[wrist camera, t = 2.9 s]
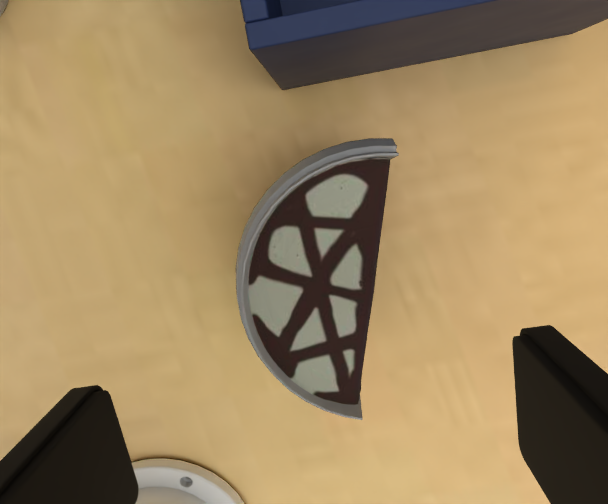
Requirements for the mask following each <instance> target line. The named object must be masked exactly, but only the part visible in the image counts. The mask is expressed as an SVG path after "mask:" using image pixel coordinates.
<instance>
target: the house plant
mask: <svg viewBox="0 0 608 504" xmlns="http://www.w3.org/2000/svg"><path fill="white" fill-rule="evenodd" d="M7 3H8V0H0V15H1V14H2V13H3V12H4V10H5V7H6V5H7Z"/></svg>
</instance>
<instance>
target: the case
mask: <svg viewBox="0 0 608 504" xmlns="http://www.w3.org/2000/svg"><path fill="white" fill-rule="evenodd" d="M240 2H241V8H242V13H243V18H244V21H245V23H246V24H245V29H246V34H247V39H248V44H249V49H250V50H251V51H252V53H253V54H254V55H255V57H256V58H257V59H258V60H259V62H260V63H261V64H262V65H263V67H264V68H265V69H266V70H267V72H268V73H269V74H270V75H271V77H272V78H273V79H274V80H275V82H276V83H277V84H278V85H279V87H280V88H281V89H282V90H286V89H291V88H296V87H301V86H307V85H312V84H317V83H322V82H327V81H332V80H337V79H343V78H348V77H353V76H358V75H363V74H368V73H373V72H379V71H384V70H389V69H394V68H399V67H404V66H409V65H414V64H420V63H425V62H430V61H435V60H440V59H445V58H450V57H456V56H461V55H466V54H471V53H476V52H481V51H486V50H492V49H497V48H502V47H507V46H512V45H517V44H522V43H528V42H533V41H538V40H543V39H548V38H553V37H558V36H563V35H569V34H573V33H575V32H577V31H580V30H582V29H585V28H587V27H589V26H592V25H594V24H596V23H599V22H601V21H604V20H606V19H608V0H240Z"/></svg>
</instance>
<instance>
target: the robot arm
mask: <svg viewBox="0 0 608 504" xmlns="http://www.w3.org/2000/svg"><path fill="white" fill-rule="evenodd" d="M513 358H514V375H515V391H516V407H517V423H518V440H519V446H520V450H521V453H522V456H523V458H524V460H525V462H526V463H527V465H528V467H529V468H530V470H531V472H532V473H533V475H534V477H535V478H536V480H537V482H538V483H539V485H540V487H541V488H542V490H543V492H544V493H545V495H546V497H547V498H548V500H549V502H550V503H551V504H608V374H607V373H606V372H605V371H604V370H602V369H601V368H600V367H599V366H598V365H597V364H595V363H594V362H593V361H592V360H591V359H590V358H588V357H587V356H586V355H585V354H584V353H583V352H581V351H580V350H579V349H578V348H577V347H576V346H575V345H573V344H572V343H571V342H570V341H569V340H568V339H566V338H565V337H564V336H563V335H562V334H561V333H559V332H558V331H557V330H556V329H555V328H554V327H552V326H551V325H547V326H539V327H532V328H524V329H522V330H521V332H520V336H514V338H513ZM0 504H244V502H243V501H242V499H241V498H240V496H239V495H238V493H237V492H236V491H235V490H234V489H233V488H232V487H231V486H230V485H229V484H228V483H227V482H225V481H224V480H223V479H221V478H220V477H218V476H217V475H215V474H214V473H213V472H211V471H208V470H206V469H204V468H202V467H200V466H198V465H195V464H191V463H188V462H184V461H181V460H173V459H165V458H161V459H145V460H141V461H136V462H132V463H131V460H130V457H129V453H128V450H127V447H126V444H125V441H124V437H123V434H122V431H121V428H120V425H119V421H118V418H117V415H116V412H115V409H114V405H113V402H112V399H111V396H110V394H109V393H108V391H106V390H104V391H103V389H102V388H101V387H100V386H98V385H96V386H88V387H81V388H73V389H72V390H70V391H69V392H68V393H67V394H66V395H65V396H64V397H63V398H62V399H61V400H60V401H59V402H58V403H57V404H56V405H55V406H54V407H53V408H52V409H51V410H50V411H49V412H48V413H47V414H46V415H45V416H44V417H43V418H42V419H41V420H40V421H39V422H38V423H37V424H36V425H35V426H34V427H33V428H32V430H31V431H30V432H29V433H28V434H27V435H26V436H25V437H24V438H23V439H22V440H21V441H20V442H19V443H18V444H17V445H16V446H15V447H14V448H13V449H12V450H11V451H10V452H9V453H8V454H7V455H6V456H5V457H4V458H3V459H2V460H1V461H0Z"/></svg>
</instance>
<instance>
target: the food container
mask: <svg viewBox="0 0 608 504" xmlns="http://www.w3.org/2000/svg"><path fill="white" fill-rule="evenodd" d="M396 148H397V145H396V144H395V142H394V140H393V139H363V140H357V141H350V142H345V143H342V144H339V145H336V146H332V147H329V148H326V149H323V150H321V151H319V152H317V153H315V154H313V155H311V156H309V157H307V158H305V159H303V160H302V161H300V162H299V163H298V164H296V165H295V166H293V167H292V168H291V169H289V170H288V171H287V172H285V173H284V174H283V175H282V176H281V177H280V178H279V179H278V180H277V181H276V182H275V183H274V184H273V185H272V186H271V187H270V188H269V189H268V190H267V191H266V193H265V194H264V195H263V197H262V198H261V199H260V201H259V202H258V204H257V205H256V206H255V208H254V210H253V212H252V214H251V216H250V218H249V220H248V222H247V224H246V226H245V228H244V232H243V235H242V238H241V241H240V245H239V248H238V255H237V263H236V290H237V300H238V305H239V310H240V316H241V320H242V323H243V325H244V328H245V331H246V334H247V336H248V339H249V341H250V342H251V344H252V346H253V348H254V350H255V351H256V353H257V355H258V357H259V358H260V359H261V360H262V362H263V363H264V364H265V365H266V367H267V368H268V369H269V371H270V372H271V373H272V374H273V375H274V376H275V377H276V378H277V379H278V380H279V381H280V382H281V383H282V384H283V385H284V386H285V387H286V388H287V389H289V390H290V391H291V392H293V393H294V394H296V395H297V396H298V397H300V398H301V399H303V400H304V401H306V402H308V403H310V404H312V405H314V406H316V407H318V408H320V409H322V410H324V411H327V412H330V413H334V414H337V415H340V416H343V417H348V418H354V419H359V420H362V410H361V400H360V391H361V376H362V368H363V361H364V354H365V347H366V340H367V333H368V326H369V319H370V313H371V306H372V300H373V293H374V285H375V276H376V267H377V259H378V251H379V243H380V236H381V228H382V221H383V213H384V206H385V198H386V191H387V182H388V174H389V166H390V159H392V158H394V157H396V156H398V154H399V153H397V152H396Z"/></svg>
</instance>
